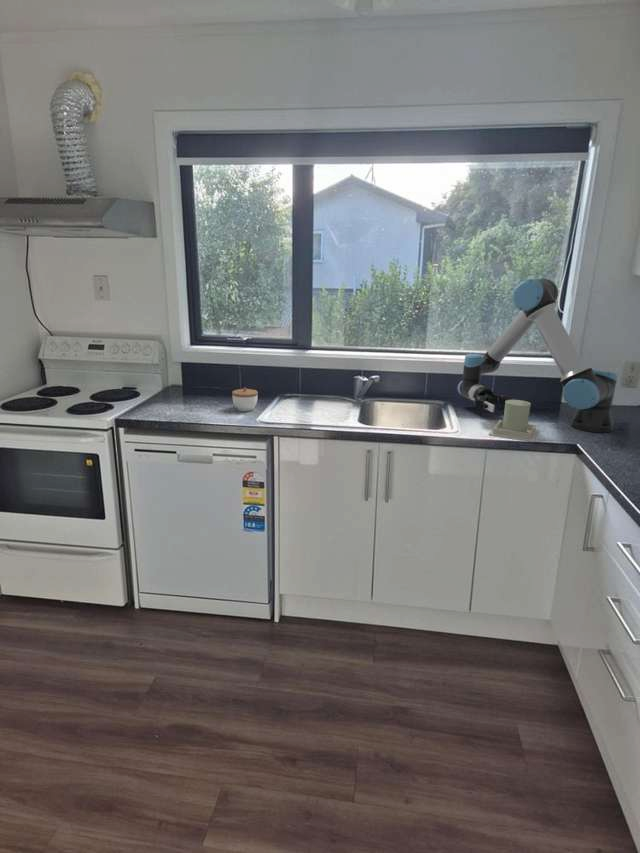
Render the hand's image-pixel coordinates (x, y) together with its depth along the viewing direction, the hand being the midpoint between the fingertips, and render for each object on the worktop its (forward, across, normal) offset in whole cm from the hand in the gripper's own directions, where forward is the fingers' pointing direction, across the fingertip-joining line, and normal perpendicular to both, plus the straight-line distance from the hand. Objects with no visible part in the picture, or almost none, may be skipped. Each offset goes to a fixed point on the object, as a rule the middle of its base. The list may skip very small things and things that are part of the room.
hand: (509, 408), depth 208 cm
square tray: (+5, 0, -9) cm, 10 cm away
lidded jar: (-44, +97, -9) cm, 107 cm away
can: (+5, 0, -8) cm, 9 cm away
